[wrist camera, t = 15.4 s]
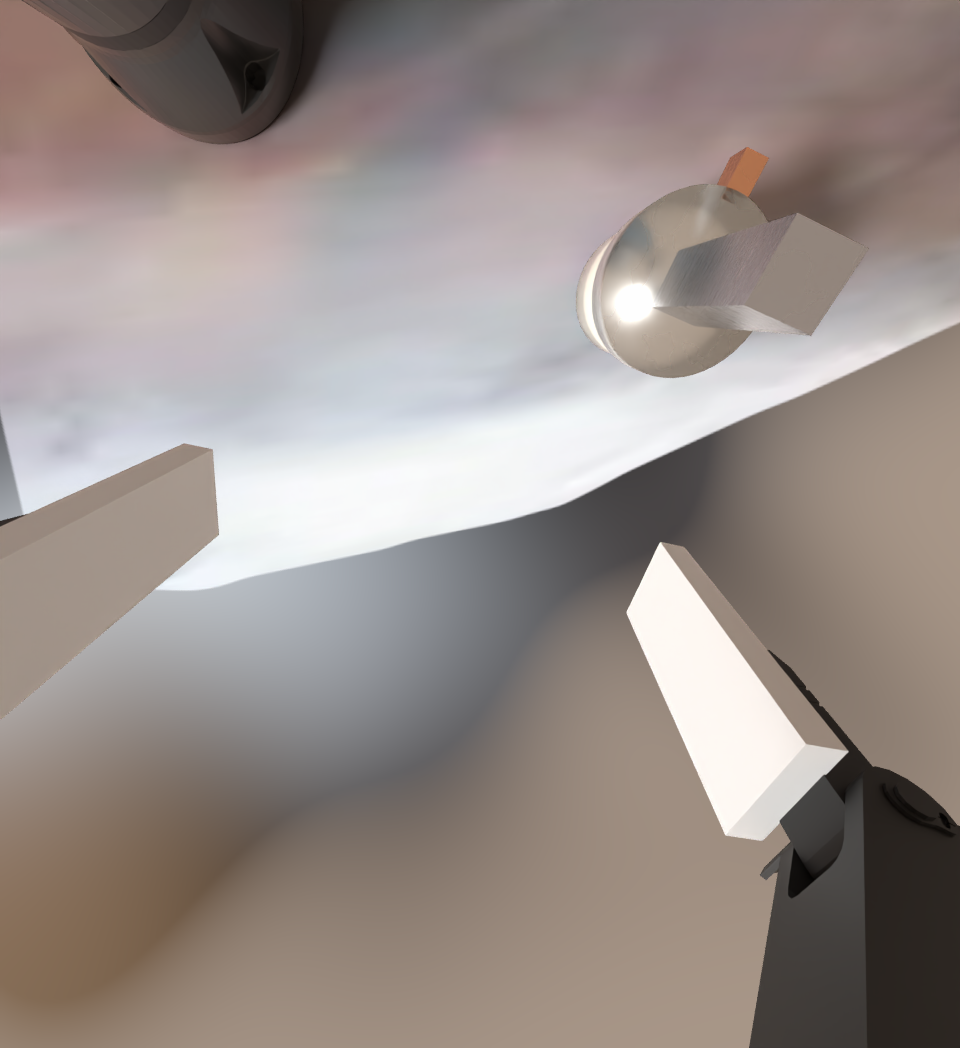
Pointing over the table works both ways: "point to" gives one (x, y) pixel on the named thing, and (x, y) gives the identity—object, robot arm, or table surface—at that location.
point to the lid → (714, 275)
